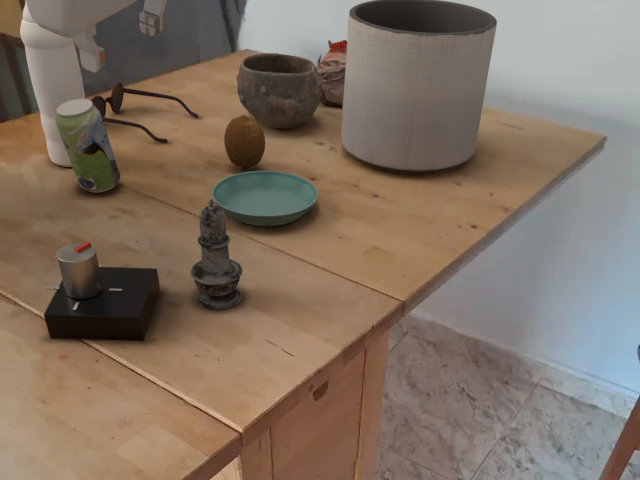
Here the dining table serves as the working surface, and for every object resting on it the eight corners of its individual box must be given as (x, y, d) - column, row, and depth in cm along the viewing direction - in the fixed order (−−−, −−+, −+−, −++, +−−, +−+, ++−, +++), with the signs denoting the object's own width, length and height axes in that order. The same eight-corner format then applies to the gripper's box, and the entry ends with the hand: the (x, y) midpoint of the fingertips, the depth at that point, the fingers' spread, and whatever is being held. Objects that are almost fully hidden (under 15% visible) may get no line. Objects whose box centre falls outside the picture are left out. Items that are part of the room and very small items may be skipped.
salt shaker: (252, 291, 81) (249, 194, 73) (227, 316, 77) (220, 216, 69) (210, 279, 83) (201, 183, 75) (183, 303, 79) (171, 204, 71)
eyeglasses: (125, 105, 126) (121, 76, 122) (201, 116, 123) (198, 86, 120) (84, 133, 115) (78, 102, 112) (166, 145, 113) (162, 113, 109)
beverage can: (130, 185, 101) (116, 100, 93) (92, 203, 97) (74, 114, 88) (100, 174, 104) (84, 90, 95) (62, 191, 99) (42, 103, 91)
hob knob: (85, 303, 73) (75, 263, 70) (57, 292, 74) (46, 252, 71) (111, 286, 76) (103, 246, 72) (83, 276, 77) (74, 236, 74)
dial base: (39, 337, 73) (32, 313, 71) (65, 287, 81) (59, 263, 78) (144, 341, 73) (139, 316, 71) (160, 290, 81) (156, 267, 79)
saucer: (336, 220, 95) (337, 202, 93) (240, 243, 90) (239, 224, 88) (287, 180, 104) (287, 163, 103) (197, 198, 99) (195, 180, 97)
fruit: (236, 157, 110) (234, 105, 105) (272, 164, 109) (271, 111, 103) (218, 172, 106) (214, 118, 100) (255, 179, 104) (253, 125, 99)
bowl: (292, 145, 115) (292, 81, 108) (219, 125, 120) (215, 62, 113) (335, 121, 123) (337, 60, 117) (264, 103, 129) (263, 44, 122)
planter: (411, 119, 126) (426, -8, 112) (501, 160, 113) (530, 22, 99) (314, 143, 116) (317, 6, 102) (400, 191, 103) (417, 42, 89)
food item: (353, 111, 128) (357, 52, 121) (311, 107, 129) (312, 48, 122) (363, 88, 137) (367, 33, 131) (324, 84, 138) (326, 29, 132)
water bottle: (60, 172, 104) (15, -22, 87) (43, 156, 108) (-3, -32, 91) (104, 162, 107) (69, -27, 90) (86, 147, 111) (50, -37, 94)
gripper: (149, -160, 62) (156, 4, 73) (-9, -109, 50) (27, 78, 61) (210, -139, 61) (207, 23, 72) (63, -82, 49) (87, 103, 60)
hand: (124, 49), depth 67 cm, fingers open, 8 cm apart
